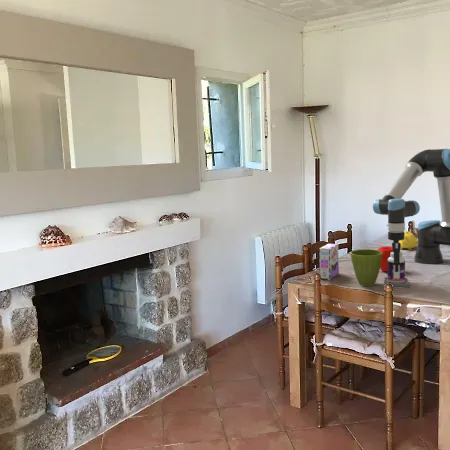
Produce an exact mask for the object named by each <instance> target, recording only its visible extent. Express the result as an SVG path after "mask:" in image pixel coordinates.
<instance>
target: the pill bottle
mask: <svg viewBox="0 0 450 450" xmlns="http://www.w3.org/2000/svg"><path fill="white" fill-rule="evenodd" d="M399 254H400V278H394V265H392V263H394V253H393V252H391V253H390V256H391V257H389V258H388V271H387V276H386V277H387V278H388V281H389V282H391V283H403V282H404V281H405V278H406V259H405V258H404V257H403V255H404V254H403V252H401V251H400V253H399Z"/></svg>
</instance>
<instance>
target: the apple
mask: <svg viewBox="0 0 450 450" xmlns="http://www.w3.org/2000/svg"><path fill="white" fill-rule="evenodd" d="M377 250H378V251H381V252H382V259H381V265H380V270H381V271H382V272H388V258H389V257H391V256H390V253H391V252H393V249H392V246H381V247H378V248H377Z"/></svg>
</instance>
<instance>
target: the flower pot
mask: <svg viewBox="0 0 450 450" xmlns="http://www.w3.org/2000/svg"><path fill="white" fill-rule="evenodd" d="M350 258H351V263H352V267H353V271H354V274H355V278H356V280H357V282H358V285H360V286H362V287H372V286H374V285H376V283H377V282H376V281H377V280H378V276H379V274H380V270H381V269H380V265H381V259H382V252H381V251H378V249H377V250H376V249H369V248H368V249H355V250H351V251H350Z"/></svg>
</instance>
